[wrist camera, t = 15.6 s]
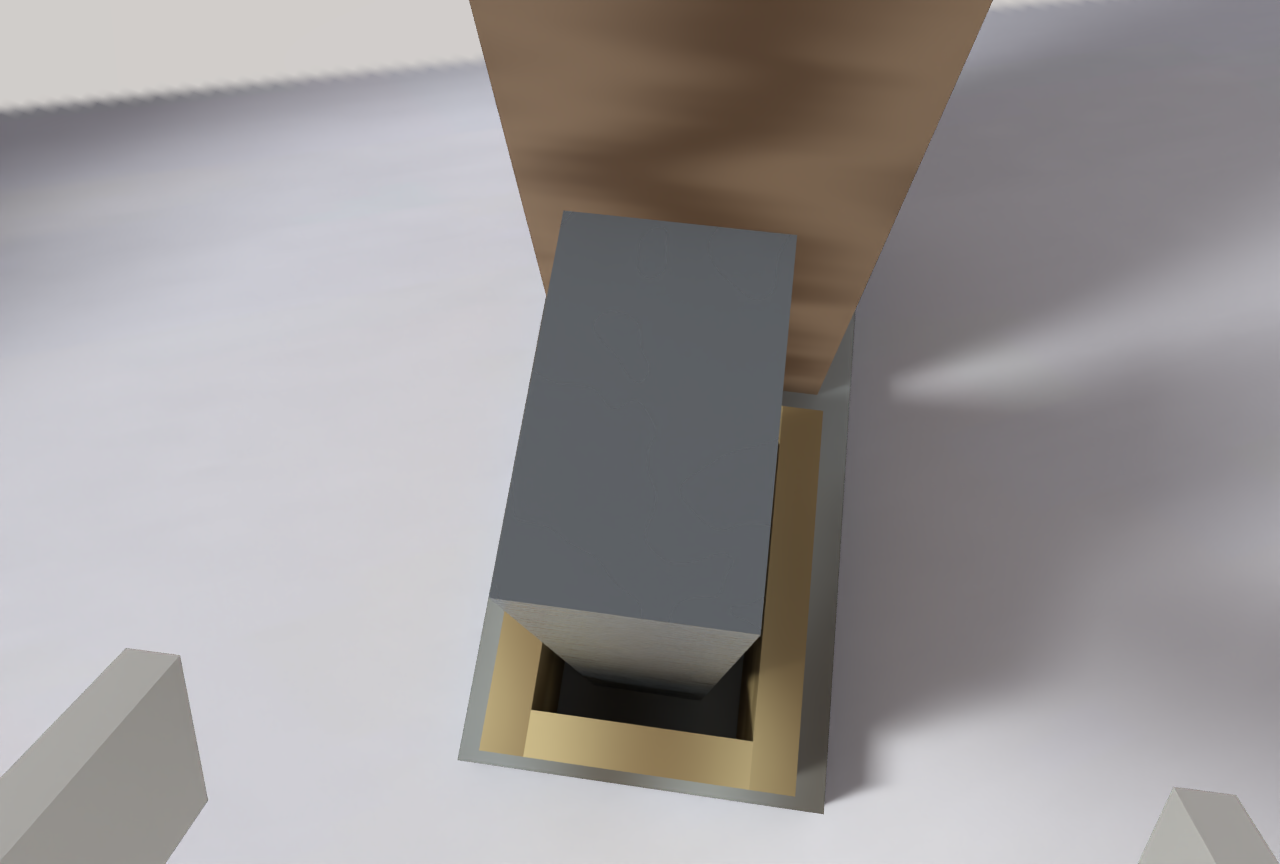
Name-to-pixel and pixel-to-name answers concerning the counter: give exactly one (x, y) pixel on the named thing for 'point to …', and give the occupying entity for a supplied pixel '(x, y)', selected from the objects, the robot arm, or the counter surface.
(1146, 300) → the counter surface
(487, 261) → the counter surface
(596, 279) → the grey block
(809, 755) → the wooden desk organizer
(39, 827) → the robot arm
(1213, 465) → the counter surface
